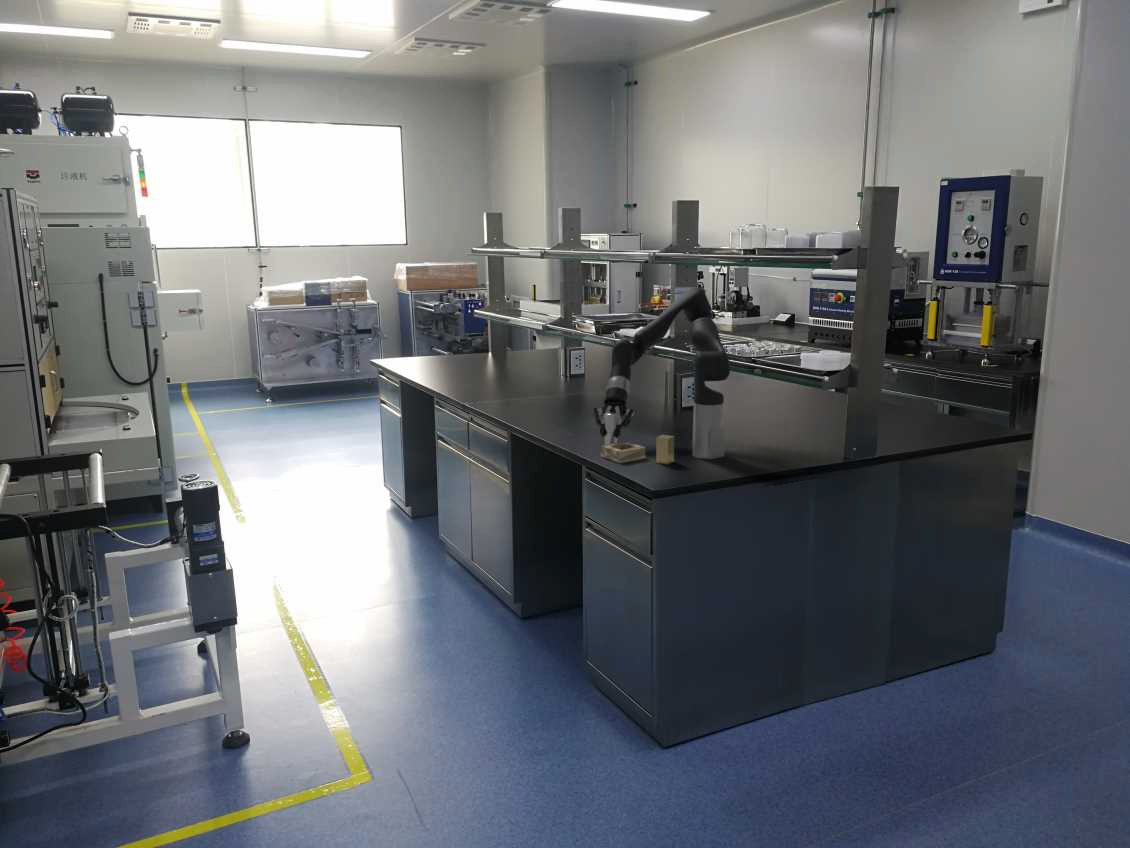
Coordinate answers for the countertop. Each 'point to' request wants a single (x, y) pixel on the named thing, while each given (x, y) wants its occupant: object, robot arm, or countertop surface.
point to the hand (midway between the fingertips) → (609, 436)
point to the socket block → (623, 452)
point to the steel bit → (610, 428)
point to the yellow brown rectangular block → (665, 449)
